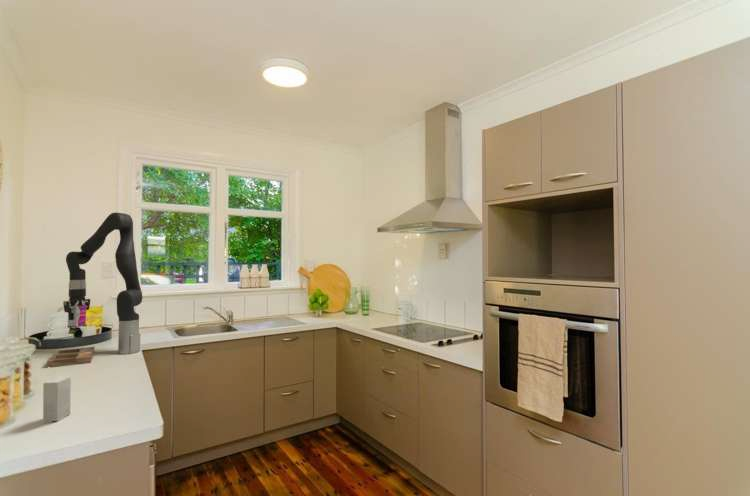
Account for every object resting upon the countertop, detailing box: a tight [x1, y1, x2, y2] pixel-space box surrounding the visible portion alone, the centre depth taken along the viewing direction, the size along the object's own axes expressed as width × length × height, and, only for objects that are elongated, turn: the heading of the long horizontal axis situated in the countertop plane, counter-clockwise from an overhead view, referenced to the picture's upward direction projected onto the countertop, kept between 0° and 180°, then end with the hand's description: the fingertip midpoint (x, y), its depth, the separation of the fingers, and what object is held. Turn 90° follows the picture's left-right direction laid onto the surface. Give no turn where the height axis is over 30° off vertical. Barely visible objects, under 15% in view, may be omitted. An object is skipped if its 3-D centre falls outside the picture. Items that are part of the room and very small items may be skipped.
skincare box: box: [42, 376, 72, 423], centre depth 122 cm, size 6×4×12 cm
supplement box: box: [67, 305, 87, 328], centre depth 213 cm, size 6×6×12 cm
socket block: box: [47, 346, 95, 369], centre depth 194 cm, size 25×16×3 cm, turn 32°
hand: (77, 319), depth 213 cm, fingers closed on supplement box, 5 cm apart
